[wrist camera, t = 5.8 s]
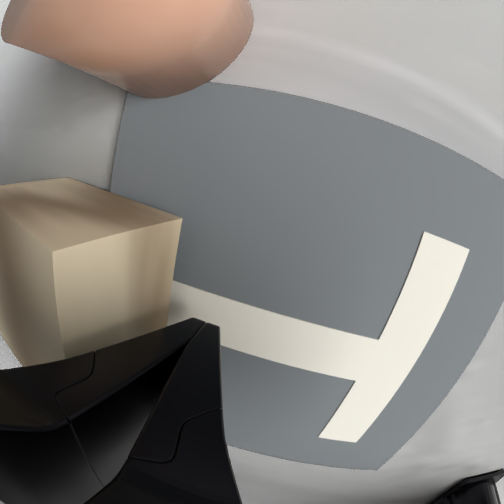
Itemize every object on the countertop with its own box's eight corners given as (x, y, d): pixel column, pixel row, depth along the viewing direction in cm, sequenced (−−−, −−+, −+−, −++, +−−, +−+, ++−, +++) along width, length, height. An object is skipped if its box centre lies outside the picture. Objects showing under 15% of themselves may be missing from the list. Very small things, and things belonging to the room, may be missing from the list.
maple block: (182, 218, 7) (52, 252, 4) (162, 375, 9) (89, 438, 6) (68, 177, 9) (-19, 188, 5) (68, 305, 11) (2, 336, 7)
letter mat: (529, 200, 6) (536, 202, 5) (376, 464, 10) (377, 470, 10) (137, 82, 7) (130, 79, 7) (119, 392, 12) (114, 397, 12)
